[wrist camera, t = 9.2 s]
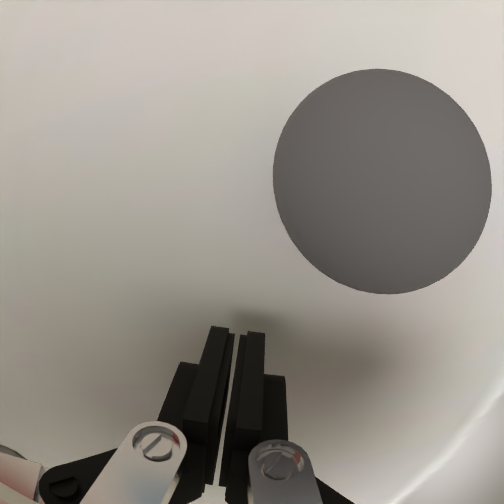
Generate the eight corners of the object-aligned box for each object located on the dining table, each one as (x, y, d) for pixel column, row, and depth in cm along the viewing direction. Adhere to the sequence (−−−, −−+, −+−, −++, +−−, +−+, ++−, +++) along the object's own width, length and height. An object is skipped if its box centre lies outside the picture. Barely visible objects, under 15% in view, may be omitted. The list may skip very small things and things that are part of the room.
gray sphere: (467, 11, 3) (286, 38, 7) (337, 335, 4) (202, 213, 8) (530, 163, 6) (395, 128, 10) (455, 341, 7) (335, 259, 12)
